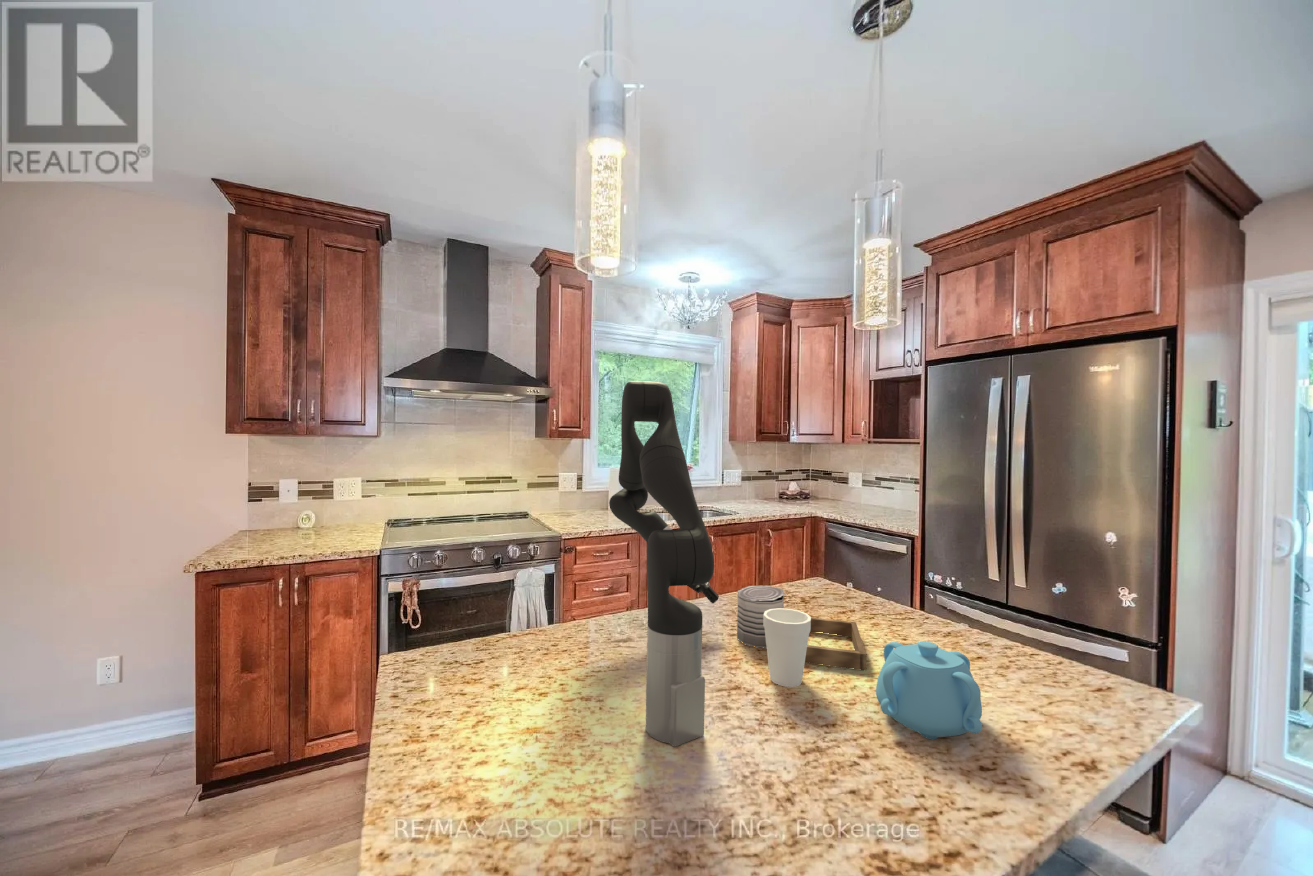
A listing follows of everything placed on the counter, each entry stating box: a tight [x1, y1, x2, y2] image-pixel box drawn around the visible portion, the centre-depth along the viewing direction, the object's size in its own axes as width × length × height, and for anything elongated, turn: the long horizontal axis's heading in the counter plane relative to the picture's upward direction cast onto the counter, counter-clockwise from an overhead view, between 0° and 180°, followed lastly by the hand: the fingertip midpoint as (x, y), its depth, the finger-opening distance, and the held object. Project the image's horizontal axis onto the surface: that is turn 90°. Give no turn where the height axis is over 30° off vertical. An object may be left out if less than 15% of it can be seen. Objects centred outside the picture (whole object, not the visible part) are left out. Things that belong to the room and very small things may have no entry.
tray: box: [805, 616, 867, 671], centre depth 121 cm, size 20×20×4 cm
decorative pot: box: [875, 640, 983, 740], centre depth 89 cm, size 16×16×14 cm
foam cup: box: [763, 607, 811, 688], centre depth 104 cm, size 10×9×13 cm
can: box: [736, 585, 786, 649], centre depth 125 cm, size 11×11×12 cm
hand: (716, 600), depth 128 cm, fingers closed
